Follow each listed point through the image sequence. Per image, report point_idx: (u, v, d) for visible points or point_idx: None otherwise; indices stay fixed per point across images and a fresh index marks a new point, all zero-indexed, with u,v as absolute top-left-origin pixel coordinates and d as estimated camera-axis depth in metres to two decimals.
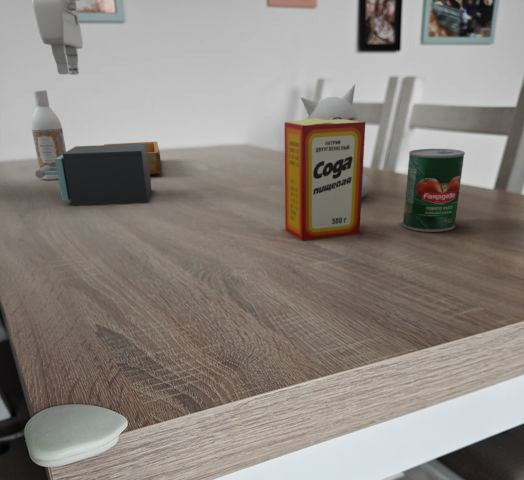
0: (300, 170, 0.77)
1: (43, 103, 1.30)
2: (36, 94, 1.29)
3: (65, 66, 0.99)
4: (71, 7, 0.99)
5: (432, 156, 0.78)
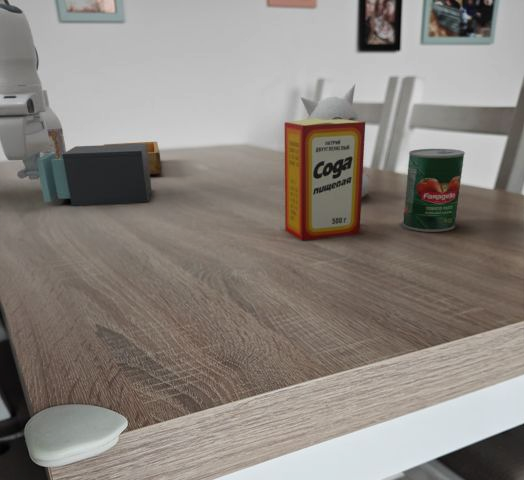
0: (300, 170, 0.77)
1: None
2: None
3: None
4: (35, 121, 1.04)
5: (432, 156, 0.78)
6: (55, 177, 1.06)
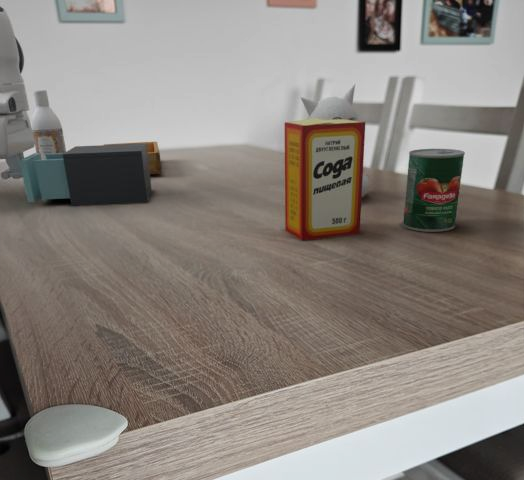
0: (300, 170, 0.77)
1: (43, 103, 1.30)
2: (36, 94, 1.29)
3: (18, 172, 1.08)
4: (18, 120, 1.04)
5: (432, 156, 0.78)
6: (38, 178, 1.06)
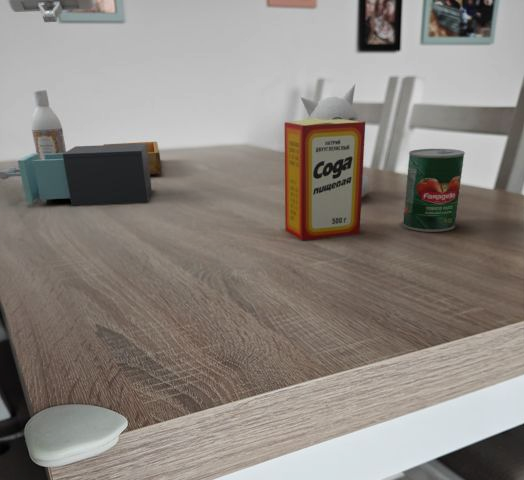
0: (300, 170, 0.77)
1: (43, 103, 1.30)
2: (36, 94, 1.29)
3: (56, 17, 1.34)
4: None
5: (432, 156, 0.78)
6: (37, 178, 1.06)
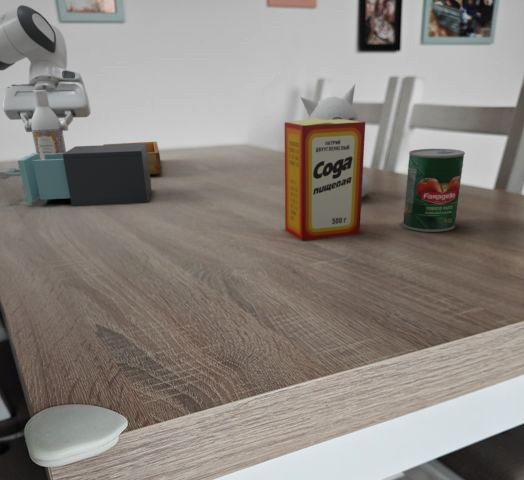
0: (300, 170, 0.77)
1: (43, 103, 1.30)
2: (35, 94, 1.29)
3: (67, 126, 1.35)
4: None
5: (432, 156, 0.78)
6: (37, 178, 1.06)
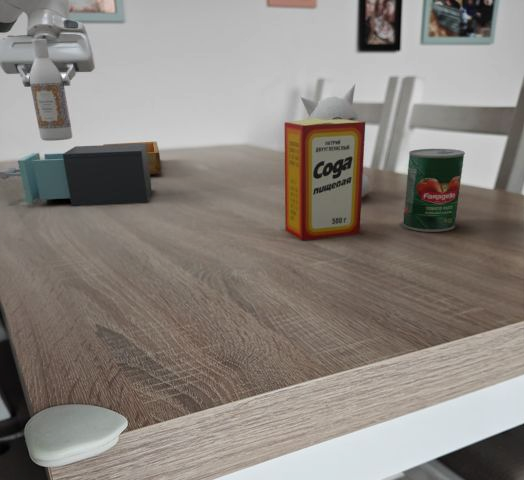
0: (300, 170, 0.77)
1: (42, 54, 1.18)
2: (34, 43, 1.17)
3: (69, 81, 1.22)
4: None
5: (432, 156, 0.78)
6: (37, 178, 1.06)
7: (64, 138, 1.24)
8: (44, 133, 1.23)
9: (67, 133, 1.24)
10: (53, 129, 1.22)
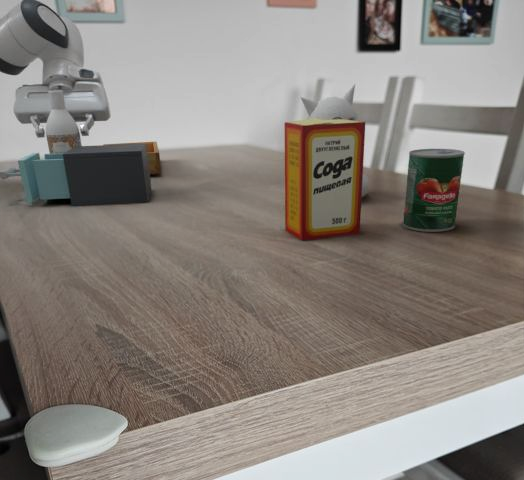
0: (300, 170, 0.77)
1: (59, 105, 1.16)
2: (51, 95, 1.16)
3: (88, 131, 1.21)
4: None
5: (432, 156, 0.78)
6: (37, 178, 1.06)
7: None
8: None
9: None
10: None
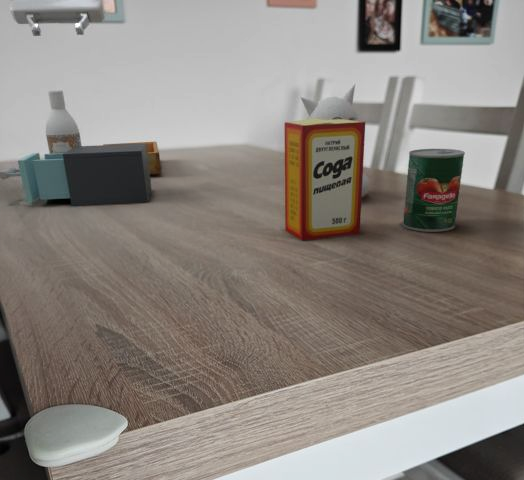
0: (300, 170, 0.77)
1: (59, 105, 1.16)
2: (51, 95, 1.16)
3: (83, 30, 1.24)
4: None
5: (432, 156, 0.78)
6: (37, 178, 1.06)
7: None
8: None
9: None
10: None
